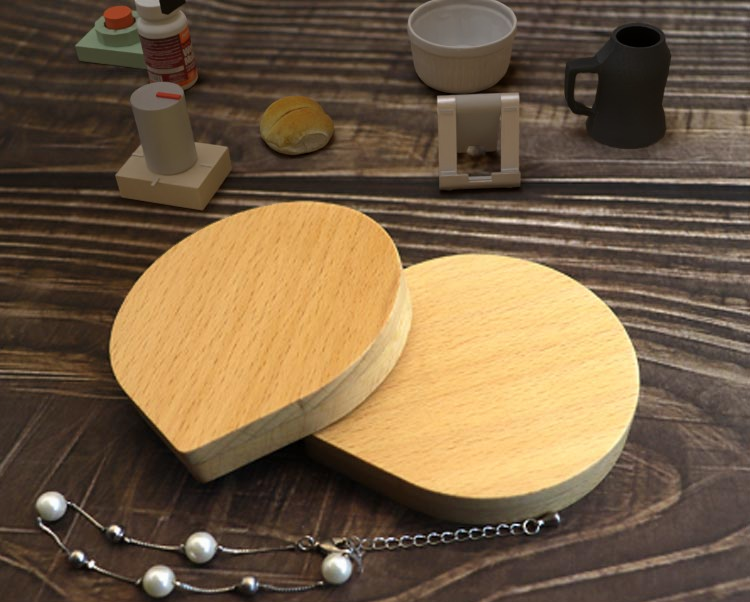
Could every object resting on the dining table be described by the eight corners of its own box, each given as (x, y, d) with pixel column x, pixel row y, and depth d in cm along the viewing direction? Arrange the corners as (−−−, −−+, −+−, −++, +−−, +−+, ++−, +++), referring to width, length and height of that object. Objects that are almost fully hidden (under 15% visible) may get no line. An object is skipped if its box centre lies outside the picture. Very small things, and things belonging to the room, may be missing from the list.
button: (101, 29, 132) (98, 17, 131) (114, 17, 135) (111, 4, 133) (126, 32, 131) (123, 20, 130) (139, 19, 134) (136, 7, 132)
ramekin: (536, 67, 127) (540, 15, 122) (468, 113, 120) (469, 59, 115) (455, 35, 133) (455, -16, 128) (386, 77, 127) (384, 25, 122)
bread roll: (314, 108, 123) (311, 78, 120) (343, 145, 117) (340, 114, 114) (250, 126, 121) (245, 96, 118) (276, 164, 115) (271, 134, 112)
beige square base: (117, 202, 112) (110, 178, 110) (157, 153, 118) (151, 129, 116) (199, 215, 109) (194, 191, 107) (235, 164, 116) (231, 140, 113)
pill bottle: (201, 89, 127) (184, 3, 119) (152, 97, 127) (132, 11, 118) (196, 65, 132) (179, -19, 123) (148, 73, 131) (128, -11, 123)
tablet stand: (439, 194, 110) (439, 126, 104) (437, 152, 115) (436, 86, 109) (519, 190, 109) (524, 123, 103) (513, 149, 115) (517, 82, 109)
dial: (137, 171, 110) (119, 103, 104) (160, 142, 114) (144, 76, 108) (184, 178, 109) (168, 110, 103) (205, 149, 113) (192, 82, 107)
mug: (654, 101, 120) (668, 11, 112) (675, 144, 114) (693, 52, 105) (553, 110, 120) (560, 20, 112) (569, 154, 113) (578, 62, 105)
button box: (79, 61, 134) (70, 32, 131) (108, 32, 139) (100, 4, 136) (146, 69, 132) (139, 40, 129) (173, 39, 137) (167, 11, 134)
